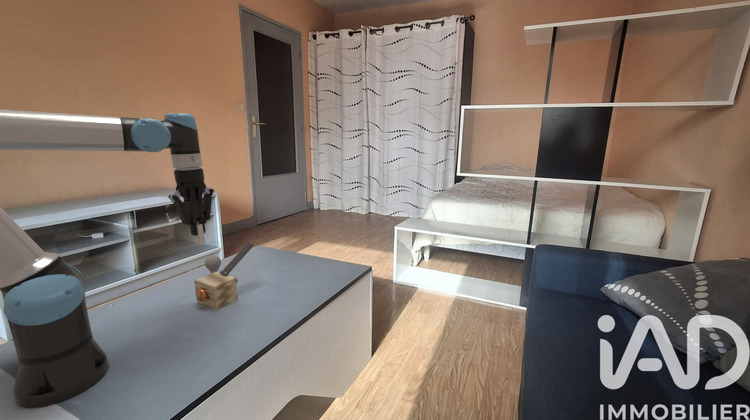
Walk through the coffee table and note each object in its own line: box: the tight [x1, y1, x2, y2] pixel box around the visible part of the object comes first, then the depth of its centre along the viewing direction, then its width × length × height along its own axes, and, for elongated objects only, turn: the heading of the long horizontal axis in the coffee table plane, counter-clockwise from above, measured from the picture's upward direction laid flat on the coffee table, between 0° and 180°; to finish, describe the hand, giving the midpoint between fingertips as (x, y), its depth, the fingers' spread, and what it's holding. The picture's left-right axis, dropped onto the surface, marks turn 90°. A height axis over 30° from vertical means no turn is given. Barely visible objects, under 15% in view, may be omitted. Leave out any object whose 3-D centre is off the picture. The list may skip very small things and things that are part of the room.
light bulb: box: [204, 255, 222, 274], centre depth 122 cm, size 5×6×10 cm
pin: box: [195, 276, 238, 302], centre depth 107 cm, size 13×4×4 cm, turn 152°
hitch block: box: [193, 271, 238, 311], centre depth 107 cm, size 8×10×8 cm
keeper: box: [219, 242, 255, 276], centre depth 113 cm, size 15×3×1 cm
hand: (200, 244), depth 99 cm, fingers closed
